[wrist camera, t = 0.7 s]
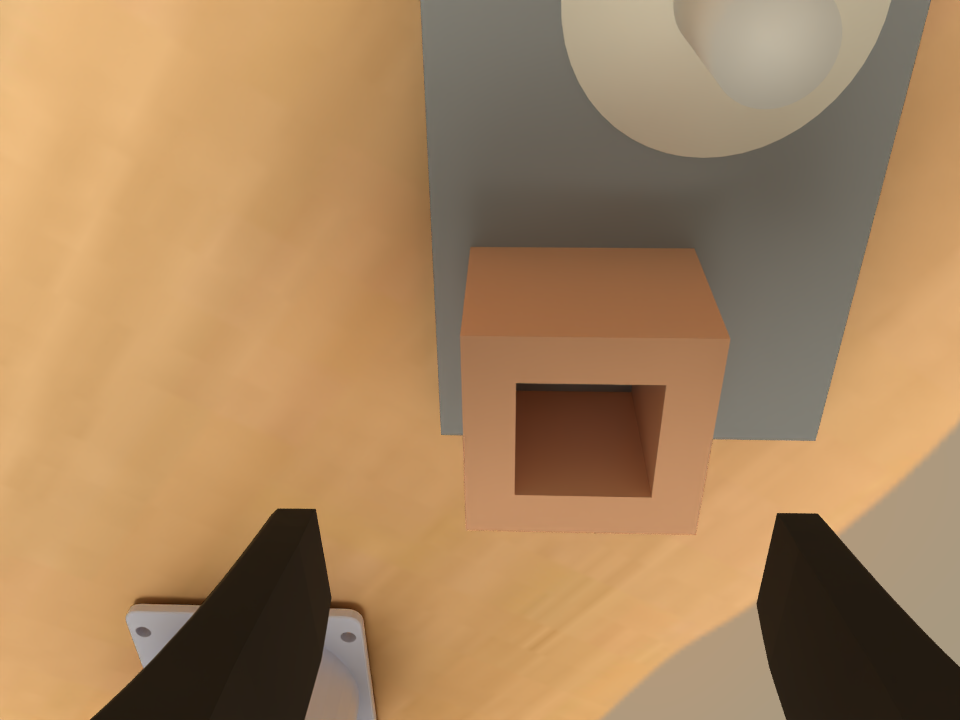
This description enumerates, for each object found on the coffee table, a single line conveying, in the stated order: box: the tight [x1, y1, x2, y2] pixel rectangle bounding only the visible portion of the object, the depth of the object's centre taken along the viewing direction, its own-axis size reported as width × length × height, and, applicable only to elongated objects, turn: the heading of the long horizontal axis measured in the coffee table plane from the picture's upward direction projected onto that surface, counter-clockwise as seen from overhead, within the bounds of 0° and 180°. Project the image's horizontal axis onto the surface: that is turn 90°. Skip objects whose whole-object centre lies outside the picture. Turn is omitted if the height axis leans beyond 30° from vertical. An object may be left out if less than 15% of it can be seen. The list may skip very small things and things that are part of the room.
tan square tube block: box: [460, 247, 730, 535], centre depth 19 cm, size 5×5×4 cm
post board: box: [420, 0, 931, 441], centre depth 17 cm, size 14×10×5 cm
